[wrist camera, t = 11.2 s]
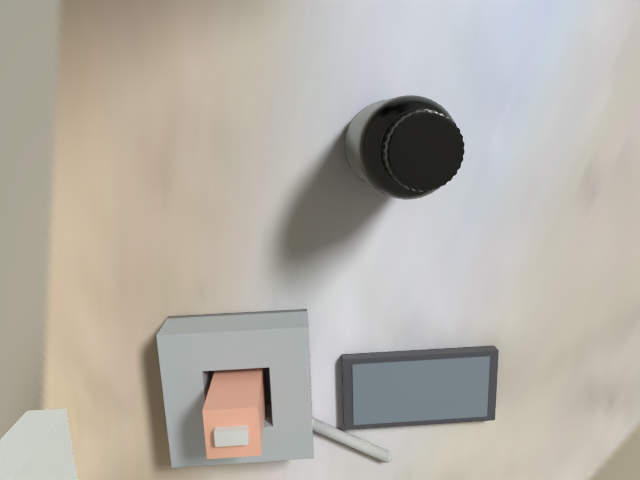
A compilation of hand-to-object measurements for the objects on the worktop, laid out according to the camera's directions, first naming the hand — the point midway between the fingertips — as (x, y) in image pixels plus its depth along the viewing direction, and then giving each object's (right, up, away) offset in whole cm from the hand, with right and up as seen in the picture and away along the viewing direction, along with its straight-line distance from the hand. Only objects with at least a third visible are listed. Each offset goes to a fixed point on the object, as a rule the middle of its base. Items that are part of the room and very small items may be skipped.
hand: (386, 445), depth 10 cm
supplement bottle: (+4, +12, +30) cm, 33 cm away
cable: (+1, -14, +36) cm, 39 cm away
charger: (-8, -8, +33) cm, 35 cm away
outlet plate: (-8, -8, +34) cm, 36 cm away
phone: (+8, -9, +35) cm, 37 cm away
